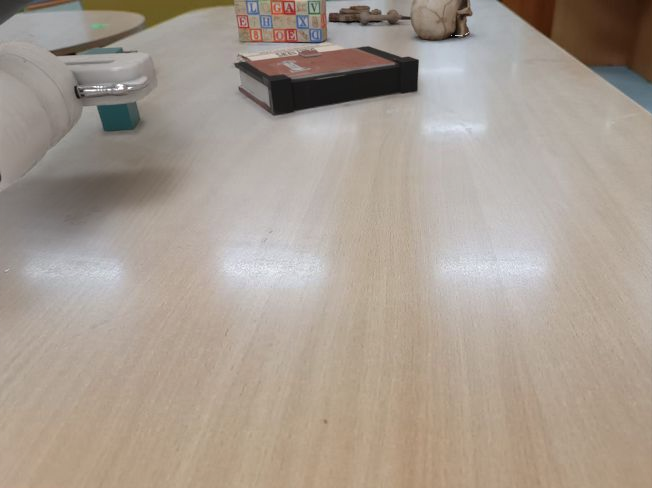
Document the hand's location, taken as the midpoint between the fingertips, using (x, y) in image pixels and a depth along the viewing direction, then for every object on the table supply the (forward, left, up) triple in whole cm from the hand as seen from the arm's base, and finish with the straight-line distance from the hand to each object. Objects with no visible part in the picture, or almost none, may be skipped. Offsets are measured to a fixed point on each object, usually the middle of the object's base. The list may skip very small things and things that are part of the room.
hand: (72, 63), depth 58 cm
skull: (+65, +71, -11) cm, 97 cm away
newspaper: (+26, +50, -11) cm, 58 cm away
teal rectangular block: (0, +12, -11) cm, 16 cm away
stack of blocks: (+25, +74, -11) cm, 79 cm away
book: (+31, +25, -11) cm, 41 cm away
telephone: (+54, +97, -11) cm, 112 cm away
